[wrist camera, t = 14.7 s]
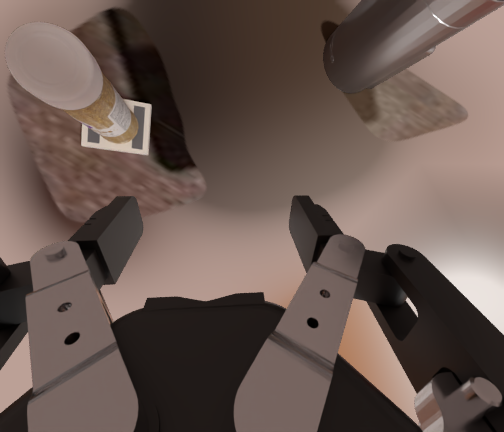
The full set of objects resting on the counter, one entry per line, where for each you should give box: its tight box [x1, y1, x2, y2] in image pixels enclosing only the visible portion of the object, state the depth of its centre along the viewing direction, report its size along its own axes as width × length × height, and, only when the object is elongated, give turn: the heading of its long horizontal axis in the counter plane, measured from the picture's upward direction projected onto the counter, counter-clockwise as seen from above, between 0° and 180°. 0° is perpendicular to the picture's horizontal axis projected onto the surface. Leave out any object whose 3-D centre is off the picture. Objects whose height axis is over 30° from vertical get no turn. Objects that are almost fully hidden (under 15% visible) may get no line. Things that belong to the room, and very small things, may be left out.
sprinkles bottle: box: [5, 22, 138, 144], centre depth 20 cm, size 5×5×13 cm
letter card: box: [81, 99, 152, 155], centre depth 27 cm, size 7×6×1 cm
